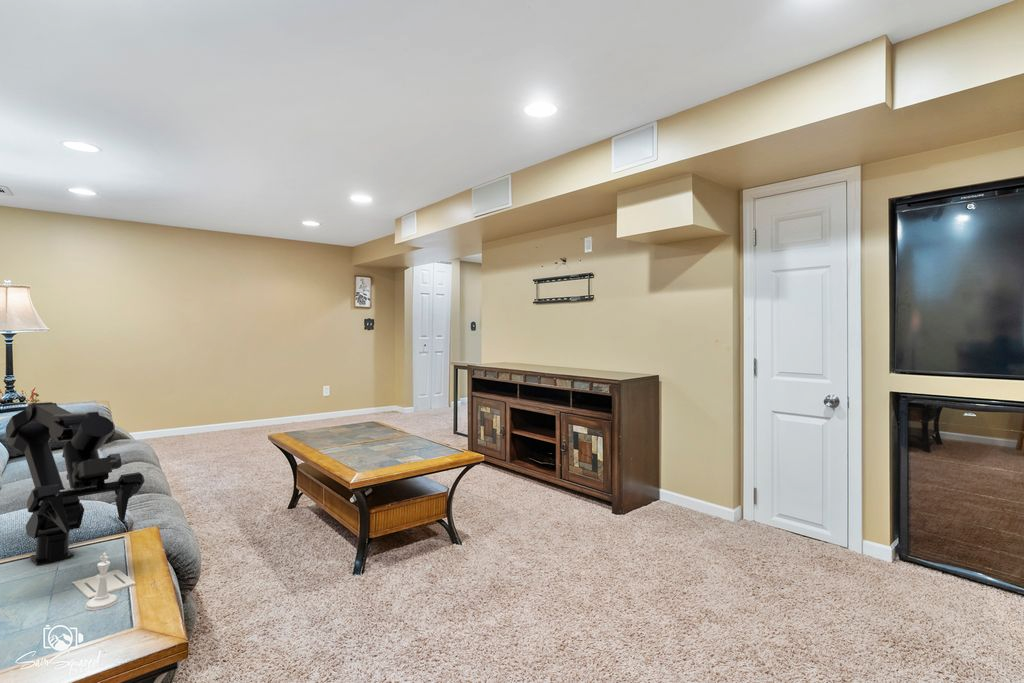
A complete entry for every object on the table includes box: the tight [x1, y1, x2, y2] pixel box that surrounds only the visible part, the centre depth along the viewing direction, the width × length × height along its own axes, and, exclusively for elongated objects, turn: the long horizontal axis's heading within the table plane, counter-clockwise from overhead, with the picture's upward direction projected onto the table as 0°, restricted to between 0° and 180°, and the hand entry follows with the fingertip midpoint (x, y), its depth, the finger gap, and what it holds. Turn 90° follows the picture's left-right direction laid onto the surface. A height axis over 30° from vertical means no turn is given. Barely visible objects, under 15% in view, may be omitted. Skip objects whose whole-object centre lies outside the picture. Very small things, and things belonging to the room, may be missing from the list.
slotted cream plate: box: [71, 569, 137, 600], centre depth 106 cm, size 10×8×1 cm
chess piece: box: [84, 552, 118, 611], centre depth 99 cm, size 5×5×10 cm
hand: (96, 526), depth 104 cm, fingers open, 9 cm apart
